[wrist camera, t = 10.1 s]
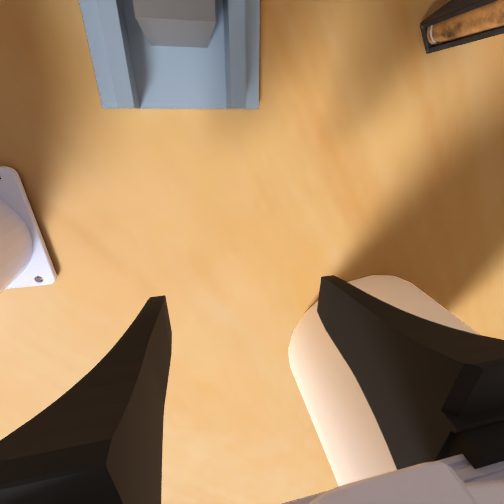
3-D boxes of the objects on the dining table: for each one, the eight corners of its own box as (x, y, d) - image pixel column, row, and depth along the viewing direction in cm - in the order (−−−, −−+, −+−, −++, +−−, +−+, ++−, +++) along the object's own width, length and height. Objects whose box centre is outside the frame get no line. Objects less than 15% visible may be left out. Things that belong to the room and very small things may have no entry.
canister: (424, 250, 26) (904, 528, 9) (424, 355, 34) (677, 612, 16) (269, 314, 26) (445, 746, 8) (306, 406, 33) (436, 726, 16)
